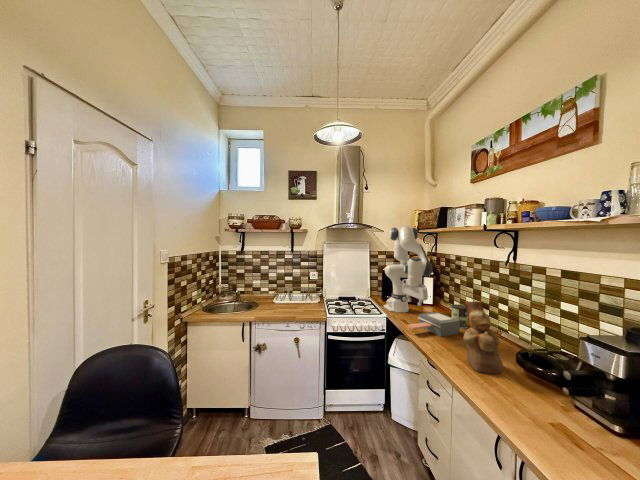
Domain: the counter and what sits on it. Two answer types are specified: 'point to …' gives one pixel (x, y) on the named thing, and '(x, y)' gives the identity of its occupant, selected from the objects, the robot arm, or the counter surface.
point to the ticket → (420, 325)
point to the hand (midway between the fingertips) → (414, 303)
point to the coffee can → (460, 315)
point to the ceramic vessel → (481, 341)
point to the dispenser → (440, 324)
